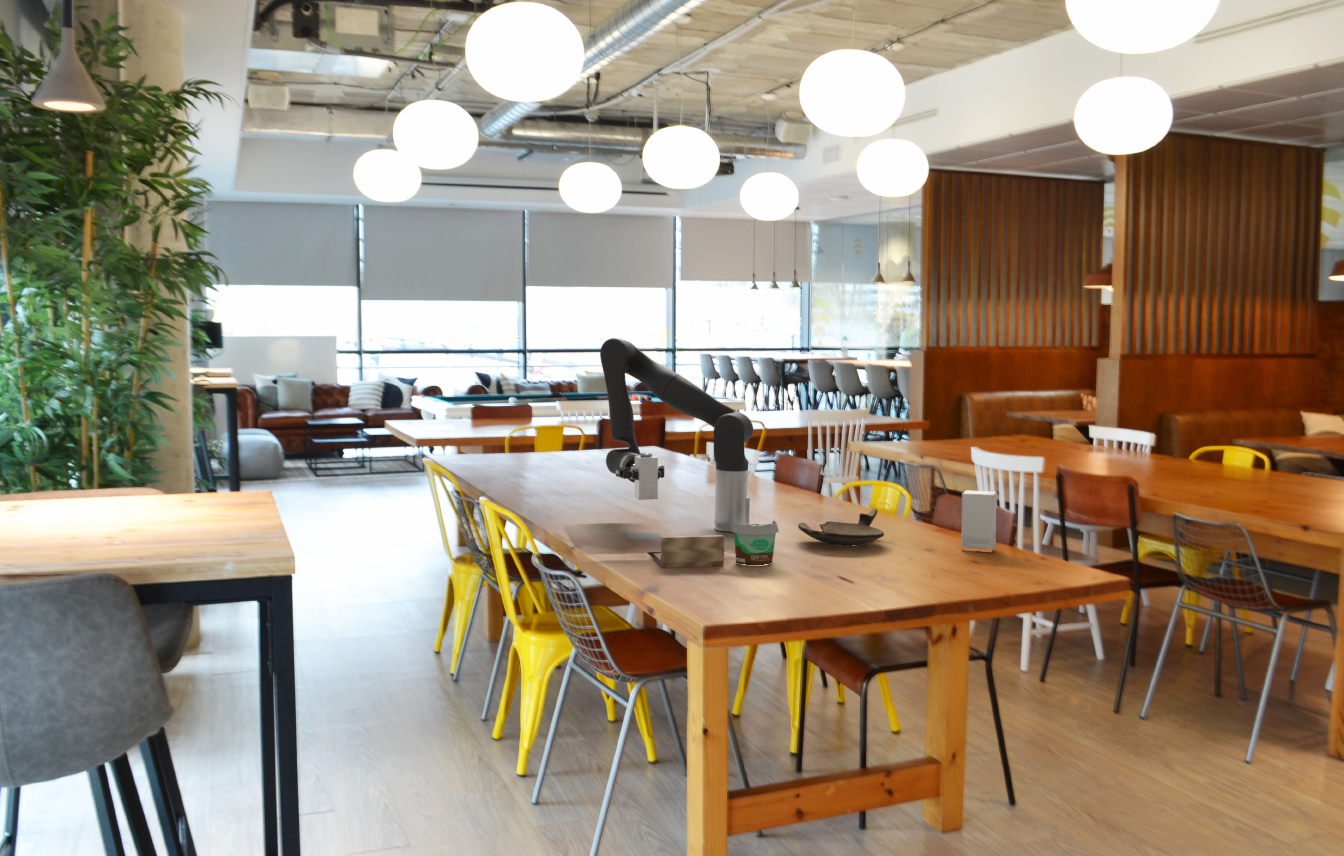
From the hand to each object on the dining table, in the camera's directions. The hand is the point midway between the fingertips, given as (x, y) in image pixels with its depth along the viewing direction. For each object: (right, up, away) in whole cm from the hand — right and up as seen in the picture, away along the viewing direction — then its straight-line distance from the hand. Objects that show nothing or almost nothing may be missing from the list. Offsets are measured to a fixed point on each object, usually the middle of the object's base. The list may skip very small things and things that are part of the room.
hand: (647, 475), depth 276 cm
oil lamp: (+54, -19, +6) cm, 57 cm away
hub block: (0, -6, +2) cm, 6 cm away
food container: (+28, -21, -22) cm, 41 cm away
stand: (-1, -18, +3) cm, 18 cm away
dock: (+9, -20, -16) cm, 27 cm away
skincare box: (+87, -20, 0) cm, 89 cm away
